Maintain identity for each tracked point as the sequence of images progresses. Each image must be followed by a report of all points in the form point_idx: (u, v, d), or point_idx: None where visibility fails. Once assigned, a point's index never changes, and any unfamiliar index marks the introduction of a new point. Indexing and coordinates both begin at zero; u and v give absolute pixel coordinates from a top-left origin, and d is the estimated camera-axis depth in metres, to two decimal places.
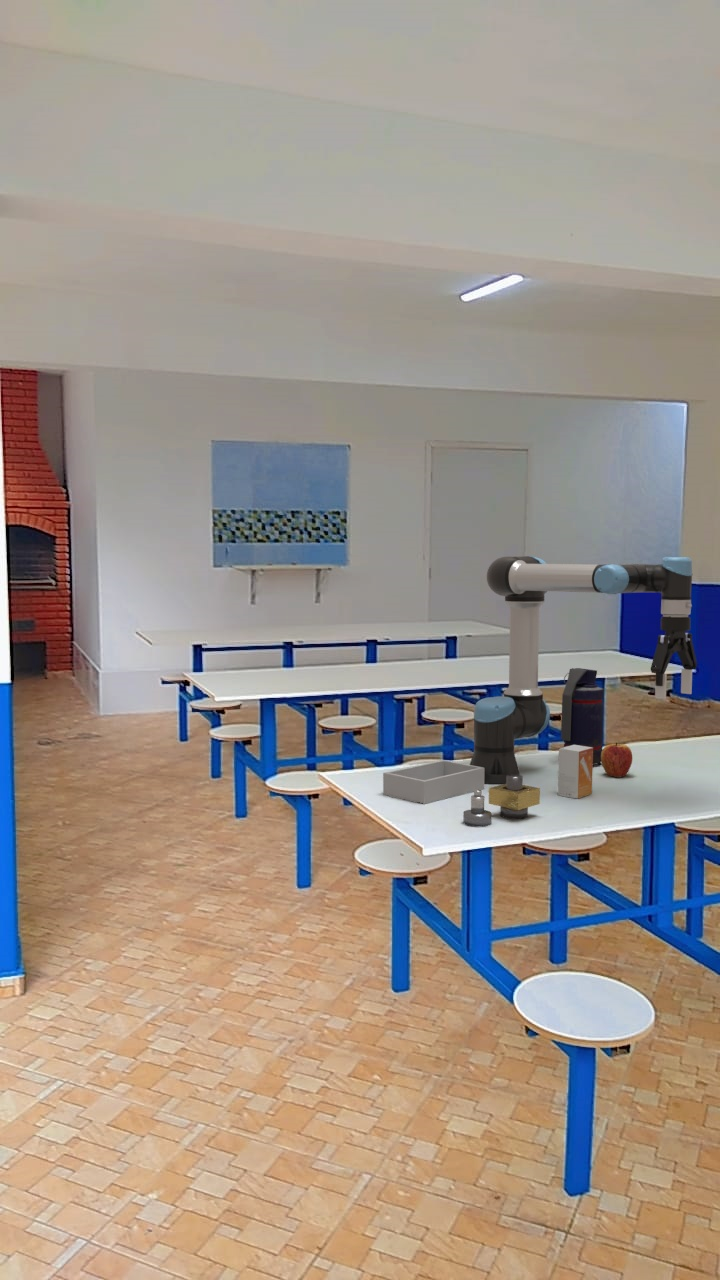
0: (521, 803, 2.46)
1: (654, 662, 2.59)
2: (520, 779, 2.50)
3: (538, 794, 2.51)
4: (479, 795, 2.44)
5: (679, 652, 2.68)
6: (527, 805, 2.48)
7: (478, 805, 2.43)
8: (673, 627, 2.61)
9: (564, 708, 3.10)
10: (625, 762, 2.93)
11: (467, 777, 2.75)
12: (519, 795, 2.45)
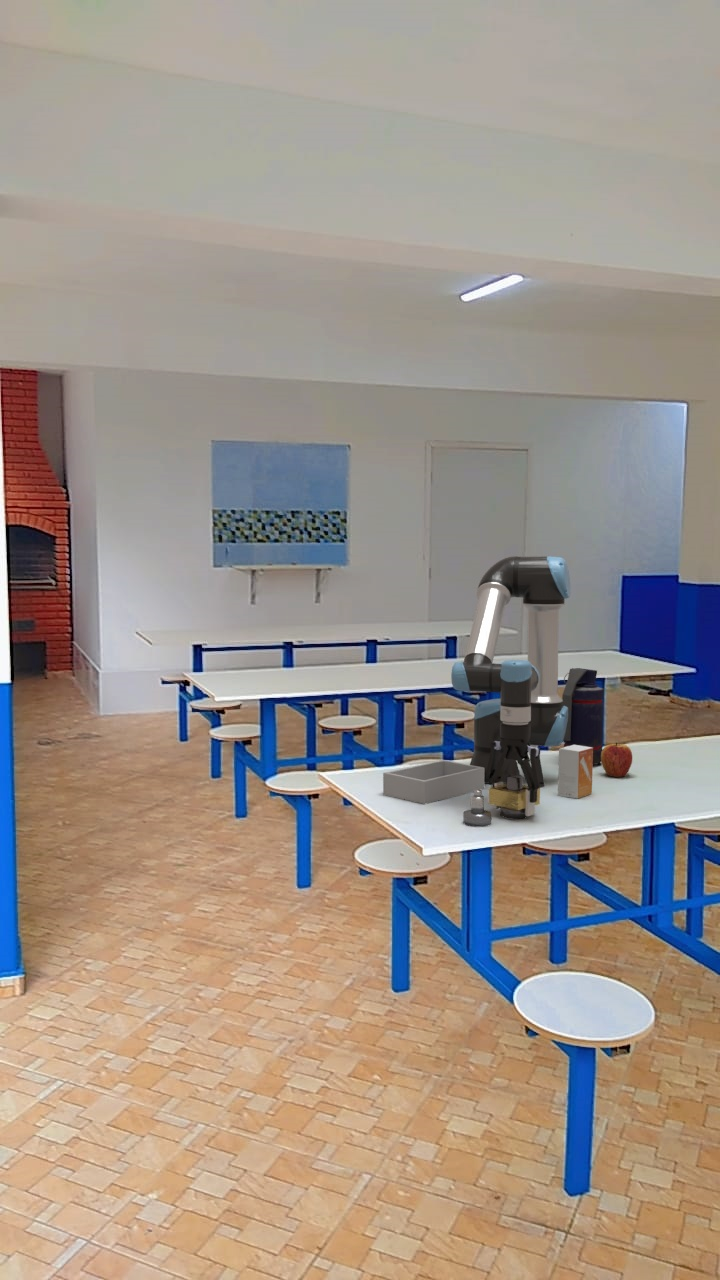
0: (521, 803, 2.46)
1: None
2: (520, 779, 2.50)
3: (538, 794, 2.51)
4: (479, 795, 2.44)
5: None
6: None
7: (478, 805, 2.43)
8: None
9: None
10: (625, 762, 2.93)
11: (467, 777, 2.75)
12: (519, 795, 2.45)
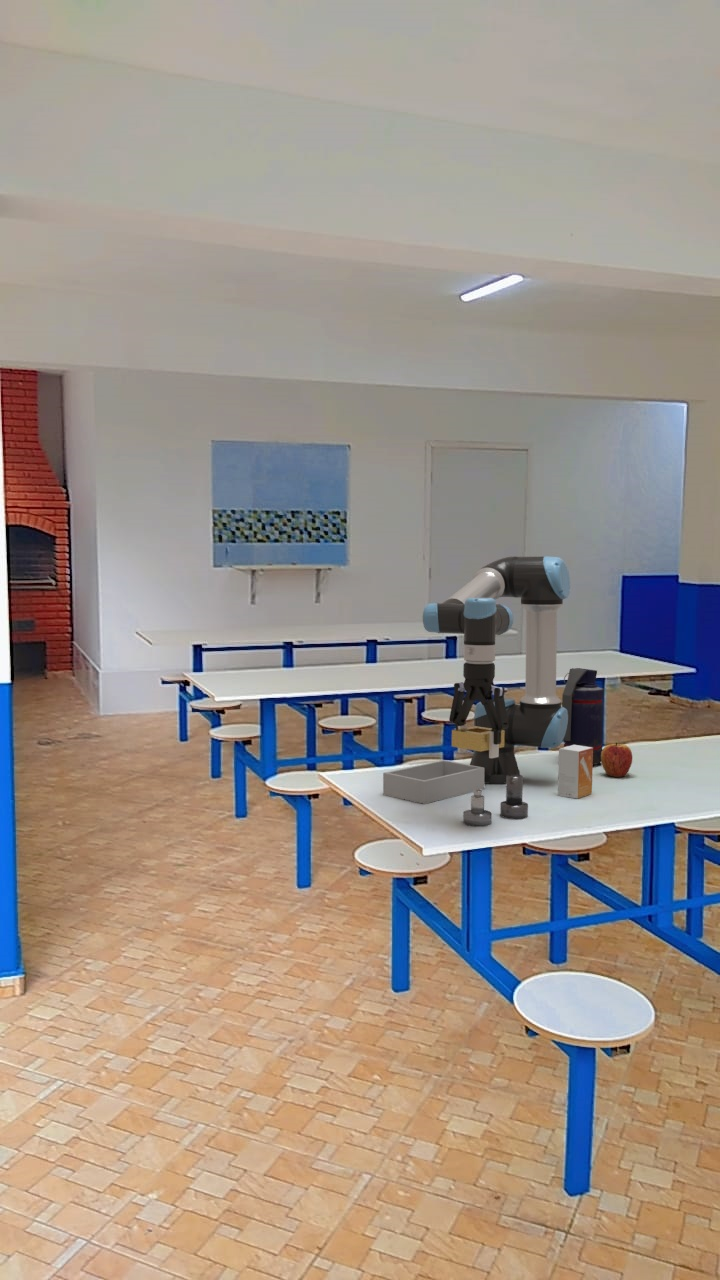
0: (484, 744, 2.38)
1: None
2: (520, 779, 2.50)
3: (503, 736, 2.43)
4: (479, 795, 2.44)
5: None
6: None
7: (478, 805, 2.43)
8: None
9: None
10: (625, 762, 2.93)
11: (467, 777, 2.75)
12: (482, 736, 2.37)
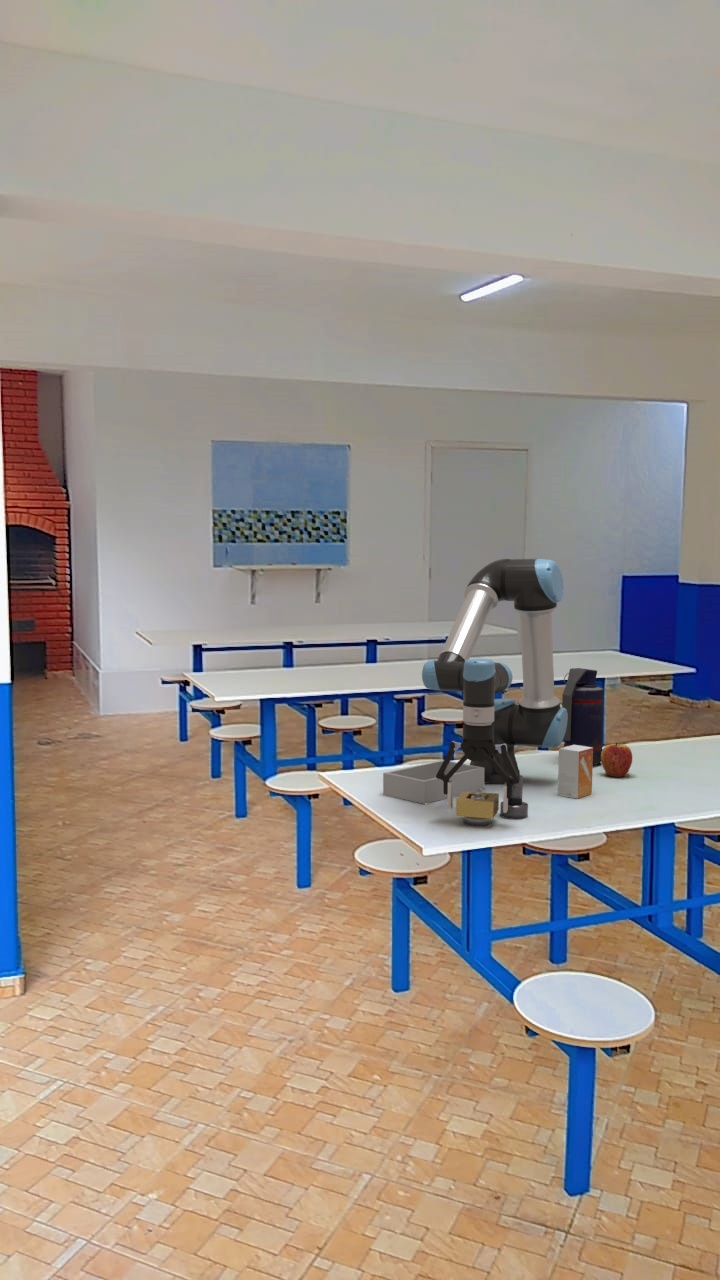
0: (494, 811, 2.41)
1: None
2: (520, 779, 2.50)
3: (498, 800, 2.47)
4: (479, 795, 2.44)
5: None
6: (495, 812, 2.43)
7: None
8: (463, 735, 2.43)
9: None
10: (625, 762, 2.93)
11: (467, 777, 2.75)
12: (493, 803, 2.40)
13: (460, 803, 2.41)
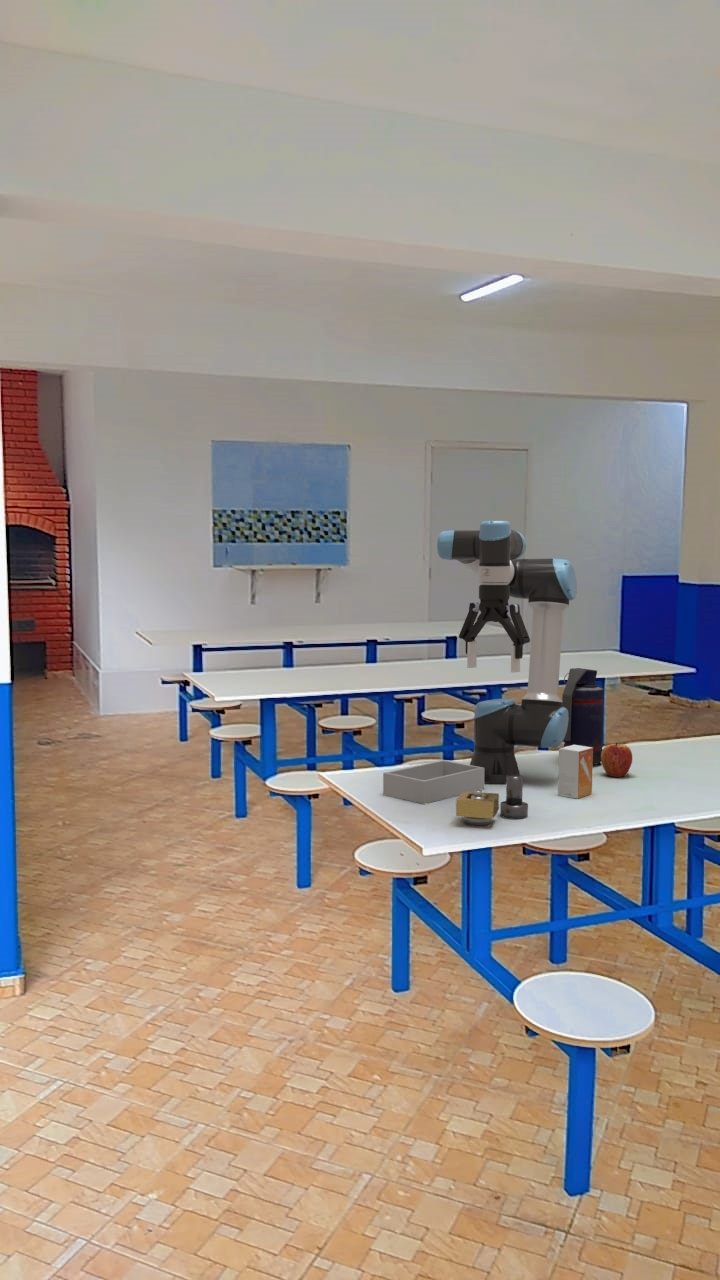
0: (494, 811, 2.41)
1: None
2: (520, 779, 2.50)
3: (498, 800, 2.47)
4: (479, 795, 2.44)
5: None
6: (495, 812, 2.43)
7: None
8: None
9: None
10: (625, 762, 2.93)
11: (467, 777, 2.75)
12: (493, 803, 2.40)
13: (460, 803, 2.41)
